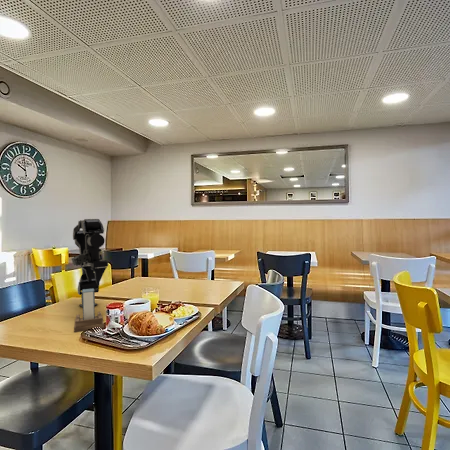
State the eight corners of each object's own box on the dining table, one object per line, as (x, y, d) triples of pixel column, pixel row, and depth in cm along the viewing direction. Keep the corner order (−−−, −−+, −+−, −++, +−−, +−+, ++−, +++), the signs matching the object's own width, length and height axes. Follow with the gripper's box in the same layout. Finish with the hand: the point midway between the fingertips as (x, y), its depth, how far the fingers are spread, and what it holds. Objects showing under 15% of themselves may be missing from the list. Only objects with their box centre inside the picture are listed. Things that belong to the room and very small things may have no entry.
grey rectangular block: (83, 320, 121) (82, 289, 120) (94, 318, 122) (93, 288, 122) (83, 324, 116) (82, 292, 116) (94, 322, 117) (93, 290, 117)
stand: (75, 322, 123) (75, 313, 122) (102, 318, 127) (102, 310, 127) (74, 332, 112) (73, 322, 112) (103, 327, 116) (103, 318, 116)
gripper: (66, 248, 138) (67, 283, 138) (80, 248, 125) (82, 287, 125) (91, 246, 146) (92, 279, 146) (108, 247, 132) (109, 283, 132)
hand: (93, 282), depth 137 cm, fingers open, 9 cm apart
